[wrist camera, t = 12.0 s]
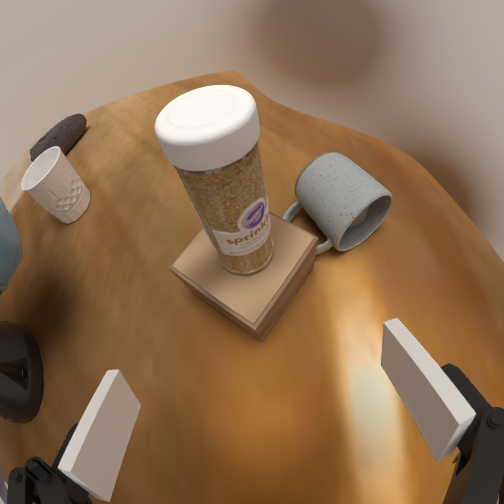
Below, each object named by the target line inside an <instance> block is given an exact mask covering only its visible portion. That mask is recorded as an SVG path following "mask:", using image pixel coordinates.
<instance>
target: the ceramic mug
mask: <svg viewBox="0 0 504 504" xmlns="http://www.w3.org/2000/svg"><path fill="white" fill-rule="evenodd" d="M295 194H296V197H297V201H296V202H295V203H294V204H293V205H291V206H290V208H289V209H288V210H287V211H286V213H285V215H284V216H283V219H284V220H286V221H288V222H291V220H292V219H293V217H294V216H295V215H296V213H297V212H298V211H299V210H300V209H302V208H303V209H304V210H305V211H306V213H307V214H308V215H309V216H310V218H311V219H313V220H314V222H315V223H316V224H317V225H318V227H319V228H320V230H321V231H322V232H323V234H324V235H325V236H326V237H327V238H328V239H327V241H326V242H325V243H323V244H320V245H319V246H317V250H316V255H317V254H320V253H322V252H324V251H326V250H328V249H330V248H331V247H333V246H334V247H335V249H337V250H338V251H347V250H350V249H352V248H353V247H355V246H357V245H359V244H360V243H361V242H363V241H364V240H365V239H367V238H368V237H369V236H370V235H371V234H372V233H373V232H374V231H375V230H376V229H377V228H378V227H379V225H380V224H381V223H382V222H383V220H384V218H385V217H386V216H387V214H388V212H389V210H390V208H391V204H392V200H393V197H392V194H391V193H390V192H389V191H388V190H387V189H386V188H385V187H383V186H382V185H381V184H380V183H379V182H377V181H376V180H375V179H374V178H373V177H371V176H370V175H369V174H368V173H366V172H365V171H364V170H363V169H361V168H360V167H359V166H357V165H356V164H355V163H354V162H352V161H351V160H350V159H348V158H347V157H345V156H343V155H341V154H339V153H336V152H324V153H322V154H319V155H317V156H316V157H314V158H313V159H311V160H310V161H309V162H308V163H307V164H306V165H305V166H304V167H303V169H302V170H301V172H300V174H299V176H298V178H297V180H296V185H295Z"/></svg>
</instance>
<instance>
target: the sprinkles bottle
mask: <svg viewBox="0 0 504 504" xmlns="http://www.w3.org/2000/svg"><path fill="white" fill-rule="evenodd" d="M155 132H156V135H157V138H158V140H159V143H160V145H161V147H162V149H163V151H164V154H165V156H166V158H167V159H168V161H169V162H170V163H171V164H172V165H173V166H174V167H175V169H176V170H177V172H178V174H179V176H180V178H181V180H182V182H183V184H184V187H185V189H186V191H187V195H188V198H189V200H190V202H191V205H192V207H193V209H194V211H195V213H196V215H197V216H198V218H199V220H200V222H201V224H202V226H203V228H204V230H205V232H206V234H207V236H208V238H209V240H210V242H211V243H212V245H213V246H214V247H215V248H216V250H217V252H218V256H219V259H220V262H221V263H222V264H223V266H224V267H225V268H226V269H227V270H228V271H230V272H232V273H235V274H243V275H246V274H253V273H256V272H257V271H259V270H261V269H262V268H264V267H265V266H266V265H267V264H269V262H270V260H271V258H272V256H273V251H274V242H273V239H272V237H271V231H270V229H271V223H270V215H269V207H268V199H267V195H266V191H265V186H264V178H263V172H262V166H261V160H260V154H259V147H258V138H259V134H260V127H259V120H258V113H257V108H256V103H255V100H254V98H253V97H252V96H251V94H249V93H248V92H247V91H245V90H243V89H241V88H239V87H235V86H229V85H214V86H207V87H202V88H198V89H195V90H192V91H190V92H187V93H185V94H183V95H181V96H179V97H177V98H176V99H174V100H173V101H171V102H170V103H169V104H168V105H167V106H165V107H164V109H163V110H162V111H161V112H160V114H159V115H158V117H157V119H156V122H155Z"/></svg>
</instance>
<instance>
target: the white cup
mask: <svg viewBox="0 0 504 504" xmlns="http://www.w3.org/2000/svg"><path fill="white" fill-rule="evenodd" d="M21 187H22V189H23V190H24V191H25V192H26V193H27V194H28V195H29V196H31V197H32V198H33V199H34V200H35V201H36V202H37V203H38V204H40V205H41V206H42V207H43V208H44V209H46V210H47V211H48V212H49V213H51V214H52V215H54V216H55V217H56V218H57V219H59V220H60V221H61V222H62V223H66V224H69V223H72V222H74V221H76V220H77V219H78V218H79V217H81V216H82V215H83V213H84V212H85V210H86V209H87V208H88V205H89V203H90V200H91V193H90V192H89V190H88V189H87V188H86V186H85V185H84V183H83V182H82V180H81V178H80V177H79V175H78V174H77V172H76V171H75V169H74V168H73V166H72V165H71V164H70V162H69V161H68V159H67V158H66V156H65V155H64V154H63V152H62V151H61V149H60V148H59V147H58V146H54V147H51V148H49V149H47V150H46V151H44V152H43V153H42V154H41V155H39V156H38V157H37V158H36V159H35V160H34V162H33V163H32V164H31V165H30V167H29V168H28V170H27V171H26V173H25V175H24V177H23V180H22V184H21Z"/></svg>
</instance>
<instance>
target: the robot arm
mask: <svg viewBox="0 0 504 504" xmlns="http://www.w3.org/2000/svg"><path fill="white" fill-rule="evenodd" d="M21 258H22V243H21V238H20V235H19V232H18V230H17V227H16V225H15V223H14V221H13V219H12V217H11V215H10V213H9V212H8V210H7V208H6V206H5V205H4V203H3V201H2V200H1V198H0V295H1V293H2V292H3V291H5V290H6V289H7V286H8V282H9V280H10V278H11V277H12V275H13V273H14V272H15V270H16V268H17V267H18V265H19V264H20V261H21ZM381 366H382V368H383V369H384V371H385V372H386V374H387V376H388V377H389V379H390V381H391V382H392V384H393V386H394V387H395V389H396V391H397V392H398V394H399V396H400V397H401V399H402V401H403V403H404V404H405V406H406V408H407V409H408V411H409V413H410V415H411V416H412V418H413V420H414V422H415V423H416V425H417V427H418V429H419V431H420V432H421V434H422V436H423V438H424V440H425V441H426V443H427V445H428V447H429V449H430V451H431V453H432V454H433V456H434V458H435V460H436V462H437V461H439V460H441V459H443V458H445V457H447V456H448V455H450V454H452V453H453V451H454V450H455V448H456V447H458V449H459V450H460V452H459V453H458V455H457V456H456V457H455V459H454V461H453V463H455V462H456V461H457V462H456V465H455V469H454V472H453V475H452V479H451V482H450V485H449V488H448V490H447V493H446V496H445V499H444V501H443V504H496V503H497V499H498V495H499V504H504V409H503V408H499V407H494V408H493V407H491V406H490V405H489V404H488V402H487V401H486V400H485V399H484V397H483V396H482V395H481V394H480V392H479V391H478V390H477V389H476V388H475V386H474V385H473V384H471V382H470V380H469V379H468V378H466V376H465V375H464V373H463V372H462V371H461V370H460V369H459V368H458V367H456V366H454V365H452V364H450V363H448V364H446V365H444V366H442V367H439V366H438V364H437V363H436V362H435V361H434V360H433V358H432V357H431V356H430V355H429V354H428V352H427V351H426V350H425V349H424V348H423V347H422V345H421V344H420V343H419V342H418V341H417V340H416V338H415V337H414V336H413V335H412V334H411V333H410V332H409V330H408V329H407V328H406V327H405V326H404V325H403V324H402V323H401V322H400V320H399V319H398V318H395V319H392V320H389V321H386V322H383V341H382V356H381ZM42 388H43V375H42V365H41V359H40V355H39V351H38V348H37V345H36V343H35V340H34V338H33V337H32V335H31V333H30V332H29V331H28V330H27V329H26V328H25V327H23V326H21V325H18V324H16V323H14V322H10V321H3V322H0V416H1V417H2V418H3V419H5V420H7V421H10V422H18V423H26V422H29V421H30V420H32V419H33V418H34V416H35V415H36V413H37V411H38V409H39V406H40V402H41V397H42ZM140 407H141V404H140V403H139V401H138V400H137V398H136V396H135V395H134V393H133V392H132V390H131V389H130V387H129V385H128V384H127V382H126V381H125V379H124V377H123V375H122V374H121V372H120V370H108V371H107V372H106V374H105V376H104V378H103V379H102V381H101V383H100V385H99V387H98V388H97V390H96V392H95V394H94V396H93V397H92V399H91V401H90V403H89V405H88V407H87V409H86V411H85V412H84V414H83V416H82V418H81V420H80V422H79V424H78V423H76V424H75V425H74V426H73V427H72V428H71V429H70V430H69V432H68V434H67V436H66V439H65V440H64V442H63V446H61V448H60V450H59V452H58V454H57V456H56V459H55V461H54V463H53V465H52V467H49V466H48V465H47V464H46V463H45V462H44V461H43V460H42V459H41V458H39V457H32V458H30V459H28V460H27V462H26V463H25V465H24V470H23V469H22V468H19V467H17V468H14V469H13V470H12V471H11V473H10V475H9V481H8V495H7V504H33V502H34V503H35V504H92V501H91V500H90V498H88V494H89V493H90V494H91V495H92V496H94V497H95V498H97V499H100V500H104V501H107V502H110V499H111V496H112V492H113V489H114V486H115V482H116V479H117V476H118V473H119V469H120V466H121V463H122V460H123V457H124V454H125V451H126V448H127V445H128V442H129V439H130V436H131V433H132V430H133V427H134V424H135V421H136V419H137V416H138V413H139V410H140Z"/></svg>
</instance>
